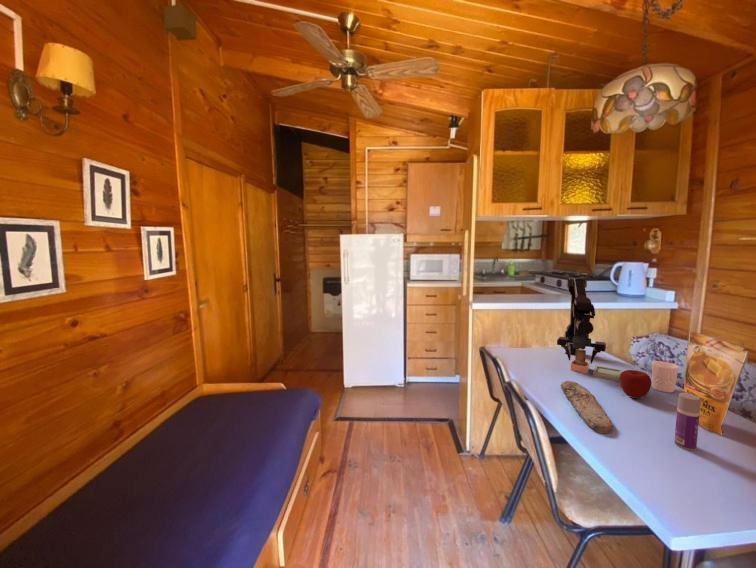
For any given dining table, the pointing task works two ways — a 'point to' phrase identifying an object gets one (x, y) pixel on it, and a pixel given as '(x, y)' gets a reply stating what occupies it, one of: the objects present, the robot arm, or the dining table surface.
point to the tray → (607, 373)
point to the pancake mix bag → (712, 376)
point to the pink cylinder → (664, 376)
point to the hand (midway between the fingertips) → (580, 361)
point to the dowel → (580, 357)
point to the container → (687, 421)
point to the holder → (580, 367)
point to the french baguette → (587, 407)
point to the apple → (635, 383)
